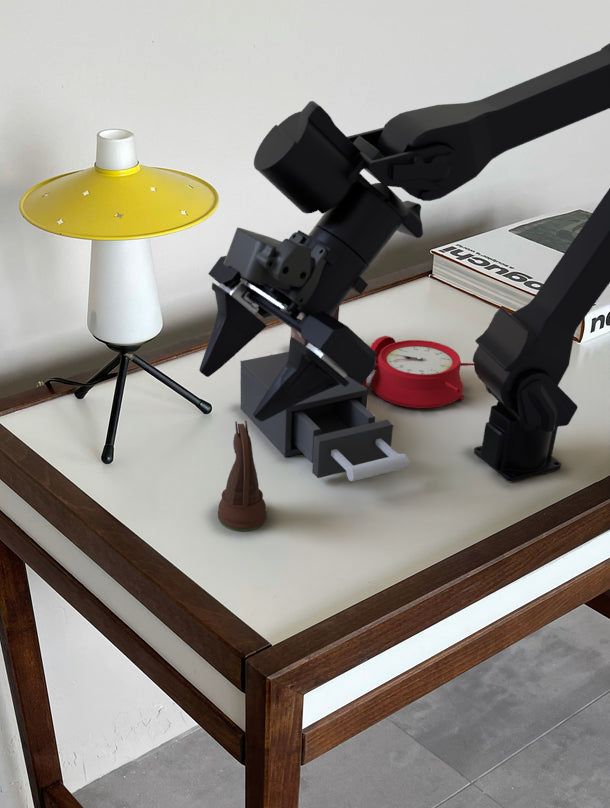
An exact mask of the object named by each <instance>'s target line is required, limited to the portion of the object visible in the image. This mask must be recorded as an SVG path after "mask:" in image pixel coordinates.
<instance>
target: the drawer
mask: <svg viewBox="0 0 610 808" xmlns="http://www.w3.org/2000/svg"><path fill="white" fill-rule="evenodd" d="M393 430H394V424H393V423H392V422H391V421H389V420H388V419H383V420H379V421H376V415H374V413H372V412H371V411H370V410H369V409H368V408H365V407H364V406H363V405H362V404H361V403H360V402H358V401H357V400H356V399H355V398H352V399H348V400H343V401H339V402H334V403H330V404H325V405H320V406H316V407H311V408H307V409H302V410H298V411H293V412H292V428H291V441H292V442H293V443H294V444H295V445H296V447H297V448H298V449H299V450H300V451H301V452H302V453H301V454H302V455H304V456H305V457H306V458H307V459H308V461H309V462H310V463H312V468H311V469H312V470H311V473H312V474H313V475H314V476H315V478H317V479H320V478H325V477H329V476H333V475H338V474H343V473H345V472H346V477H347V479H348V481H350V482H355V481H359V480H363V479H367V478H372V477H375V476H379V475H382V474H387V473H391V472H396V471H398V470H402V469H407V468H408V467H409V458H408V456H407V454H406V453H398V452H396V450H394V449H393V448H392V441H393Z"/></svg>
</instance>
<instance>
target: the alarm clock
mask: <svg viewBox="0 0 610 808" xmlns="http://www.w3.org/2000/svg"><path fill="white" fill-rule="evenodd" d="M369 347H370V348H372V349H373V350H374V351H375V352H376V365H375V369H374V370H373V371H375V373H373V375H372V377H371V380H370V382H371V383H370V385H371V389H372V391H373V392H374V393H375V395H377V396H378V397H379V398H380V399H382V400H384V401H386V402H388V403H390V404H393V405H397V406H401V407H406V408H415V409H431V408H439V407H443V406H446V405H449V404H451V403H455V402H456V401H457V400H458V399H461V400H460V402H462V401H463V400H464V399H465V394H463V393H464V392H463V391H464V384H463V381H462V379H461V376H460V371H461V367H467V366H474V362H462V361H461V358H460V355H459V354H458V352H457V351H455V349H453V348H451V347H450V346H447V345H445V344H443V343H439V342H436V341H431V340H423V339H422V340H421V339H407V340H400V341H396V340H395V338H394V337H391V336H388V335H383V336H380V337H377V338H376V339H375V340H374V341H373V342H372V343H371V345H370V346H369ZM367 383H368V378H367V379H366V380H365V382H364V383H363V384H362V385H363V386H364V387H366V388H367Z"/></svg>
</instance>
